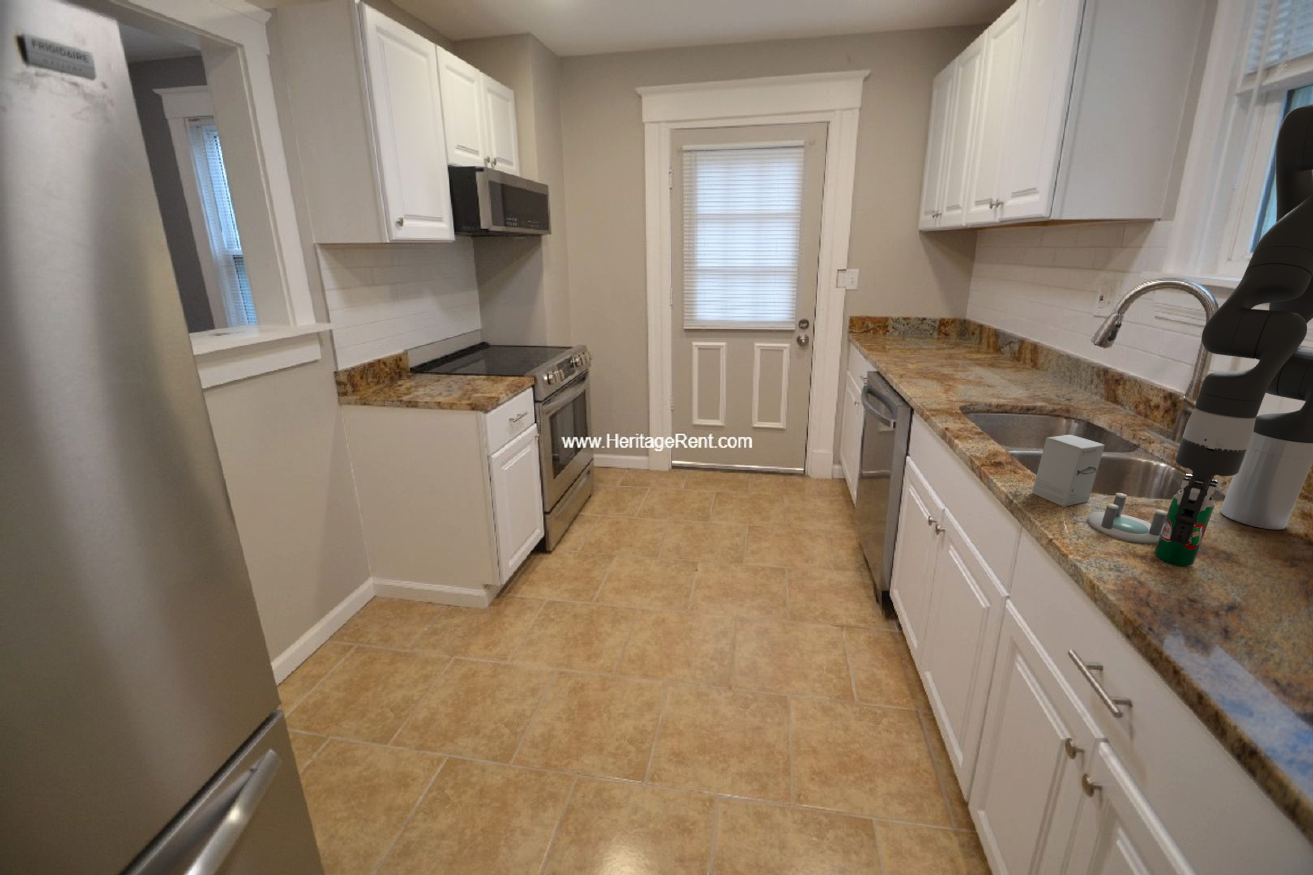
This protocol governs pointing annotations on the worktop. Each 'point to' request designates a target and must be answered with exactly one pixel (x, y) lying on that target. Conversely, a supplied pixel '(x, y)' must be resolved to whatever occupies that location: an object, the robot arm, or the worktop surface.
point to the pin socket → (1127, 523)
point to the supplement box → (1067, 469)
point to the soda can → (1187, 553)
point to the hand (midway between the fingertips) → (1181, 535)
